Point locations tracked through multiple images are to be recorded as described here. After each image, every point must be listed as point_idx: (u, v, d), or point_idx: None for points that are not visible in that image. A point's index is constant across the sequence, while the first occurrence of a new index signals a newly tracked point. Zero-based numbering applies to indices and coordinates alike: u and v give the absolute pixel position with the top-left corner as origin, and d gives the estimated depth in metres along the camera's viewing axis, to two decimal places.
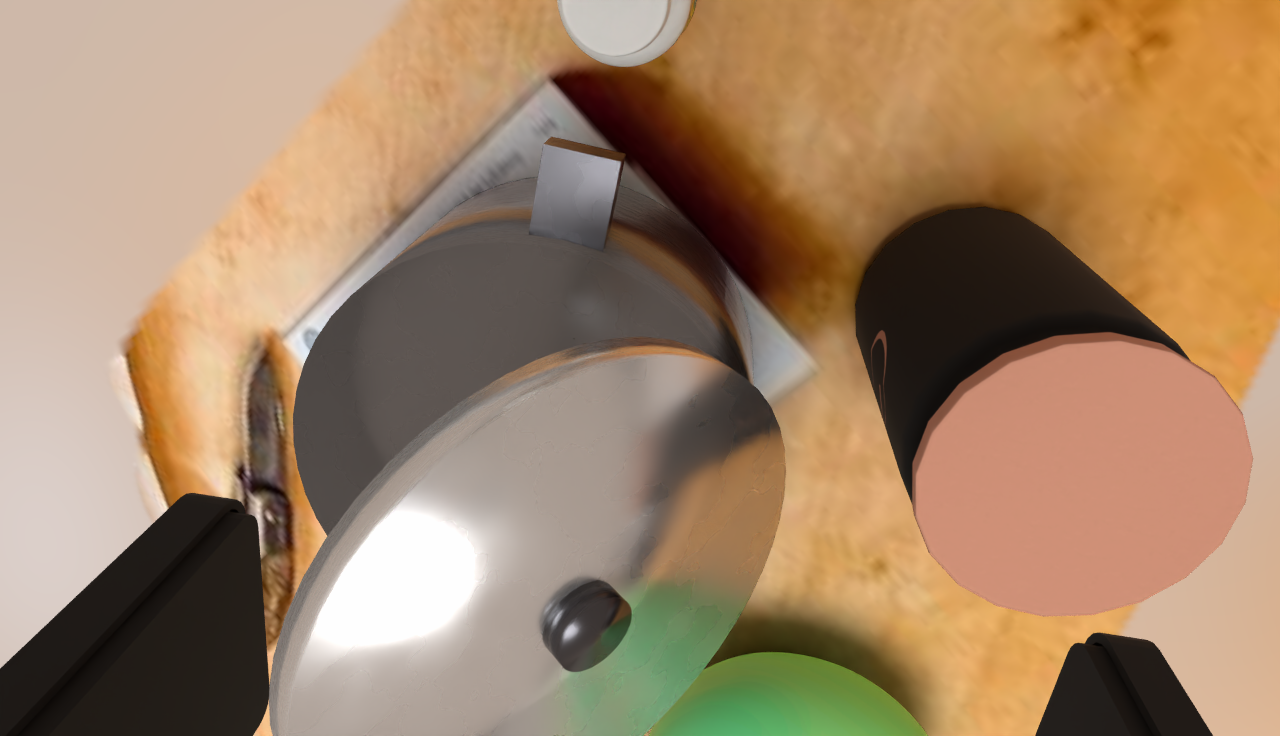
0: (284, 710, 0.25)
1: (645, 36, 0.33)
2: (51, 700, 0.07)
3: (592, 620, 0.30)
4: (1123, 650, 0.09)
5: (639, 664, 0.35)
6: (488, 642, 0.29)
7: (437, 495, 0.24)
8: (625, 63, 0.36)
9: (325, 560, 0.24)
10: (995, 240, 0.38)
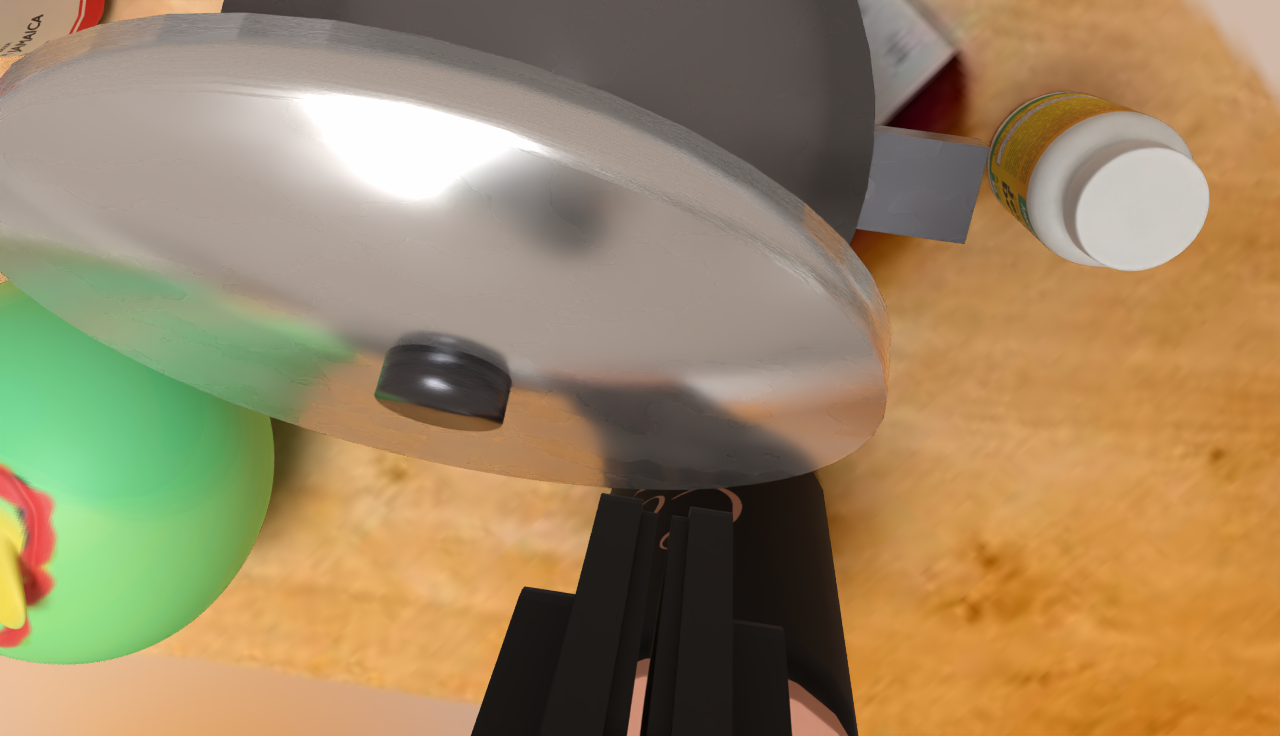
0: (336, 89, 0.12)
1: (1096, 249, 0.29)
2: (615, 676, 0.08)
3: (470, 410, 0.21)
4: (699, 518, 0.10)
5: (341, 398, 0.25)
6: (433, 306, 0.18)
7: (766, 296, 0.15)
8: (1038, 203, 0.31)
9: (657, 142, 0.13)
10: None
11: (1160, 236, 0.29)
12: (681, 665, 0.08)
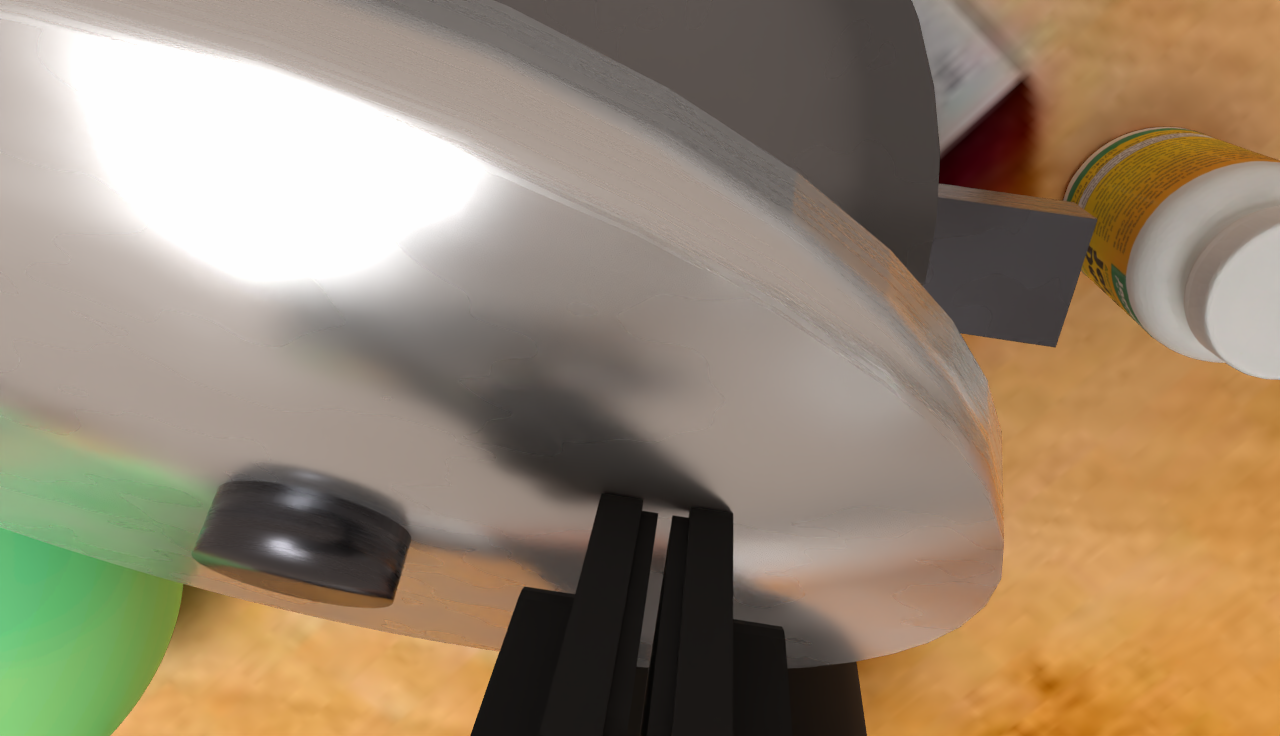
0: None
1: (1232, 351, 0.21)
2: (615, 676, 0.08)
3: (339, 583, 0.13)
4: (699, 518, 0.10)
5: (186, 545, 0.18)
6: (255, 426, 0.11)
7: (819, 420, 0.08)
8: (1144, 281, 0.23)
9: (610, 109, 0.07)
10: None
11: None
12: (681, 665, 0.08)
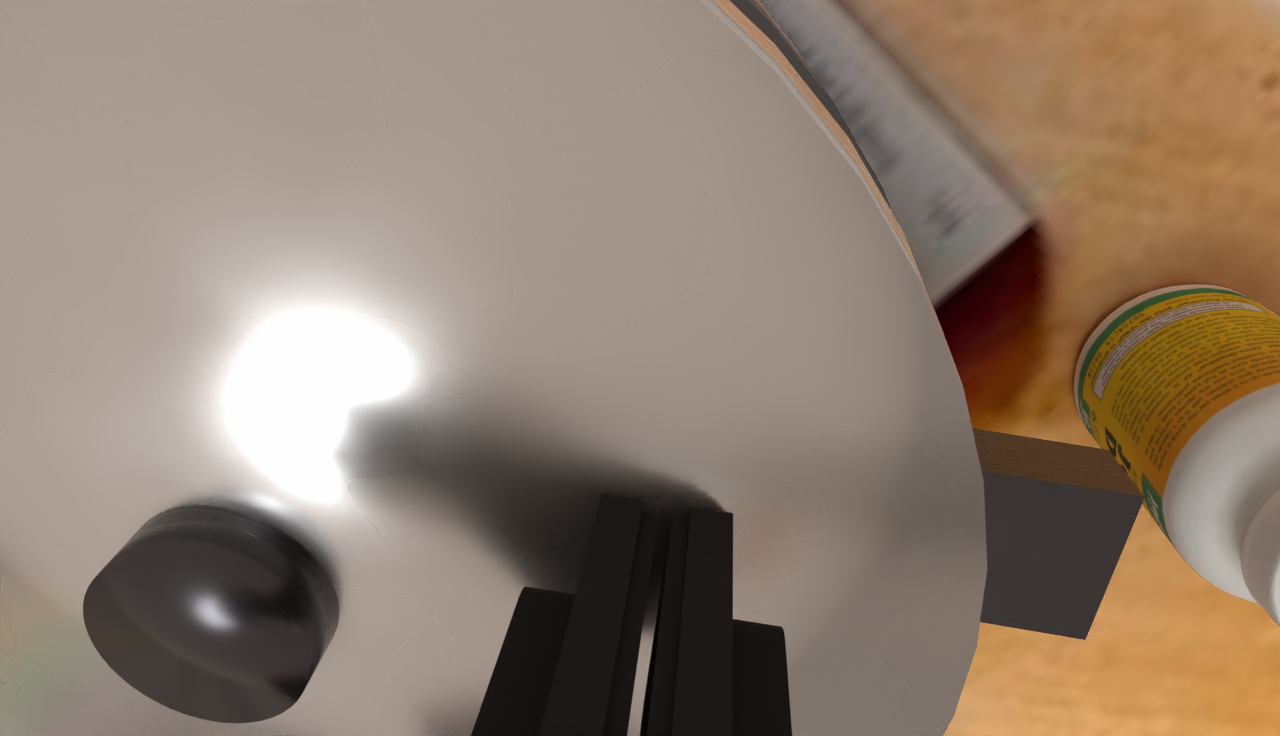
0: None
1: None
2: (615, 676, 0.08)
3: (253, 635, 0.12)
4: (699, 517, 0.10)
5: (32, 719, 0.15)
6: (231, 369, 0.11)
7: (805, 248, 0.09)
8: (1187, 514, 0.19)
9: None
10: None
11: None
12: (681, 665, 0.08)
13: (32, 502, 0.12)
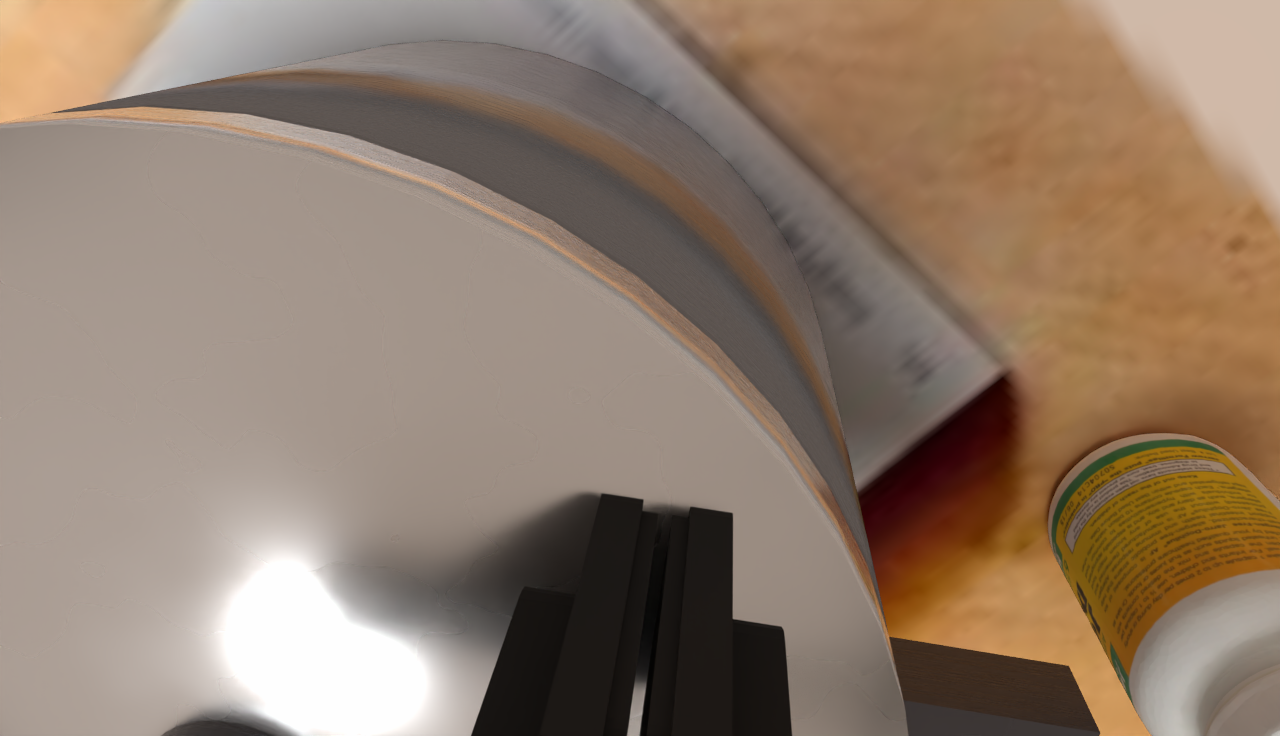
0: (227, 134, 0.10)
1: None
2: (615, 675, 0.08)
3: None
4: (699, 518, 0.10)
5: None
6: (250, 606, 0.12)
7: (742, 520, 0.11)
8: (1152, 699, 0.19)
9: (607, 271, 0.11)
10: None
11: None
12: (681, 665, 0.08)
13: (59, 716, 0.14)
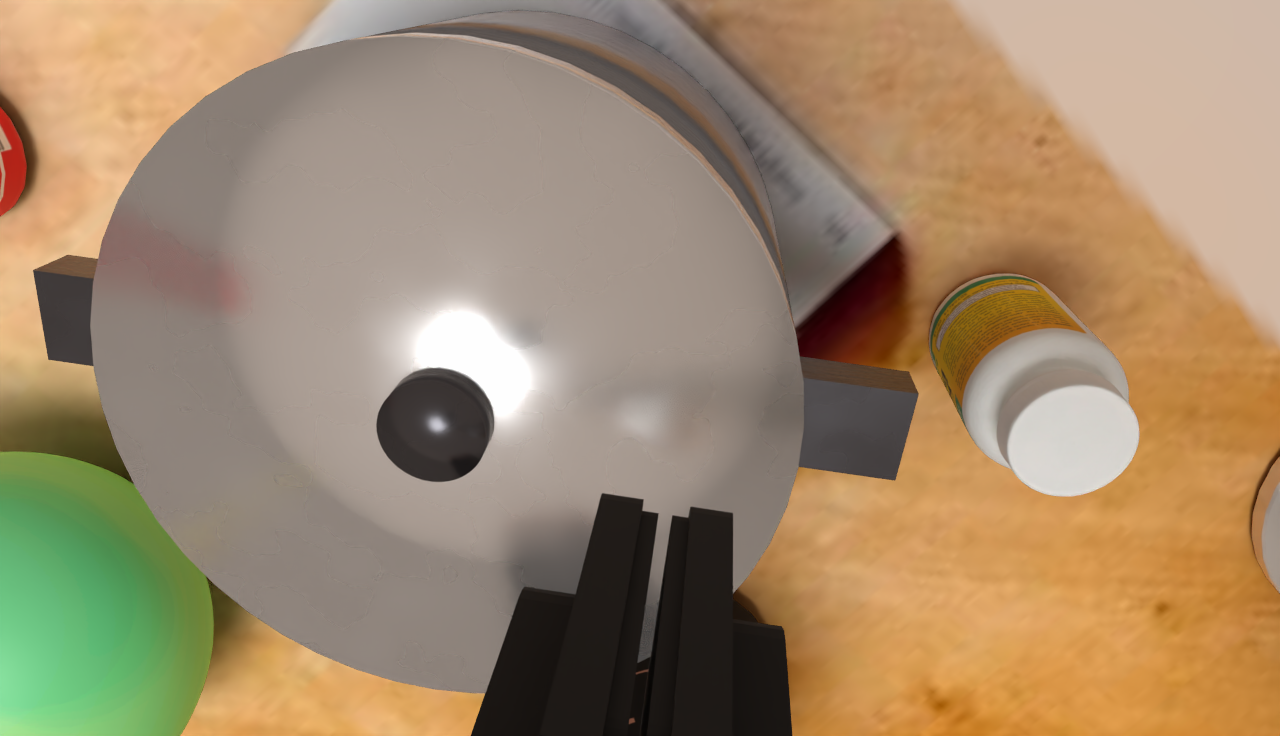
0: (469, 41, 0.21)
1: (1028, 477, 0.29)
2: (615, 676, 0.08)
3: (461, 426, 0.24)
4: (699, 517, 0.10)
5: (312, 510, 0.27)
6: (459, 295, 0.24)
7: (712, 231, 0.23)
8: (972, 415, 0.31)
9: (645, 110, 0.22)
10: None
11: (1091, 466, 0.29)
12: (681, 665, 0.08)
13: (345, 370, 0.25)
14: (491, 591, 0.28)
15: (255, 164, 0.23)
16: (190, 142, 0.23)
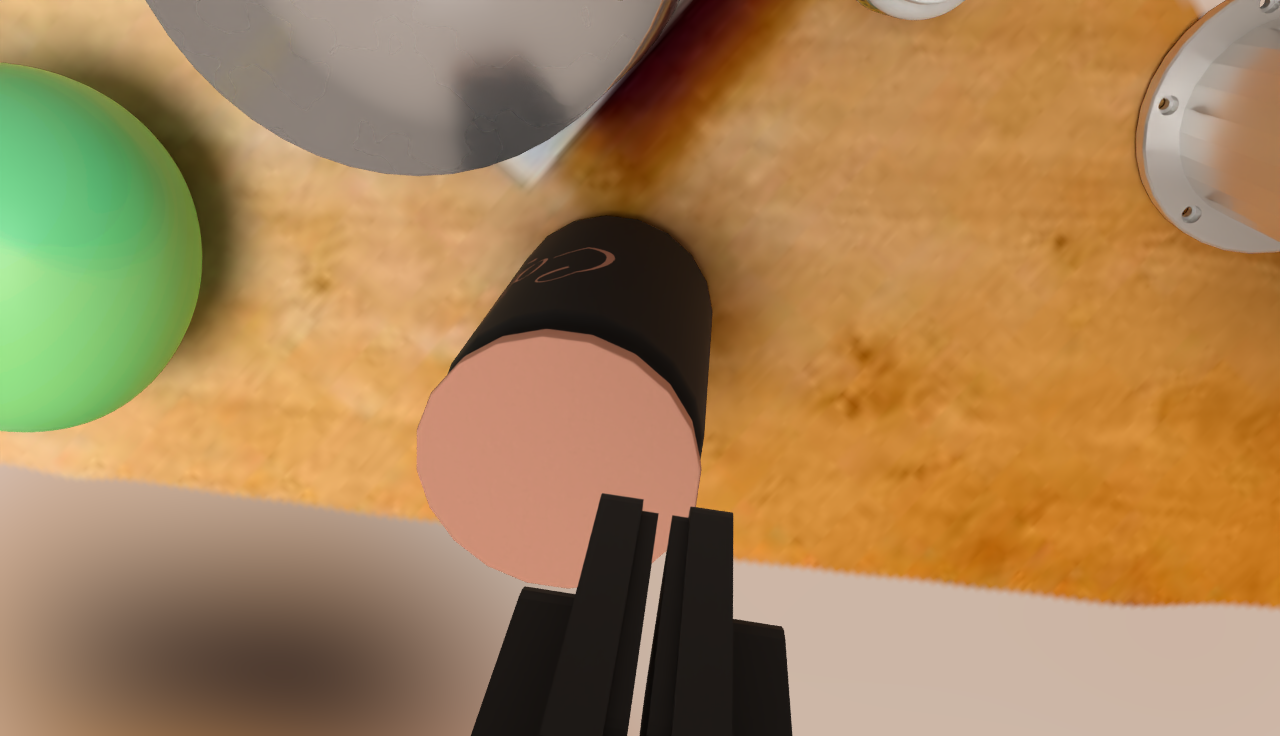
0: None
1: None
2: (615, 676, 0.08)
3: None
4: (699, 517, 0.10)
5: None
6: None
7: None
8: None
9: None
10: (706, 334, 0.43)
11: None
12: (681, 665, 0.08)
13: None
14: (430, 60, 0.32)
15: None
16: None
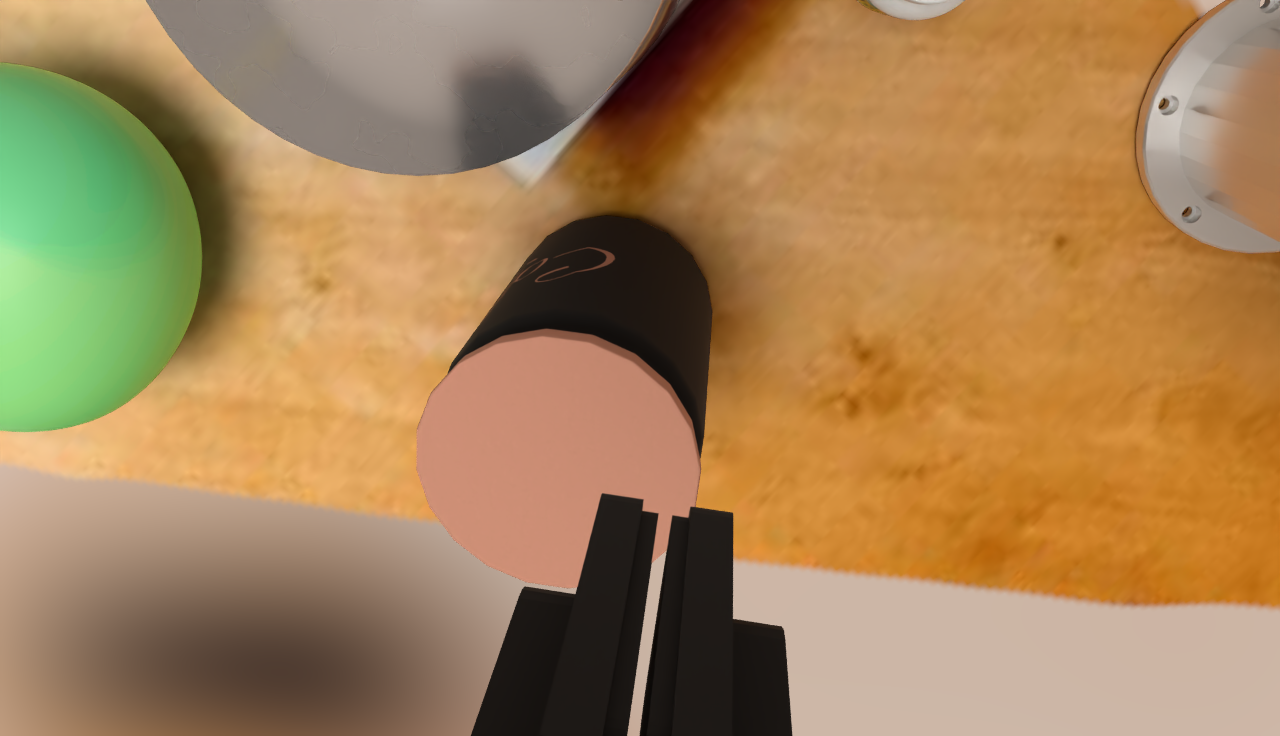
0: None
1: None
2: (615, 676, 0.08)
3: None
4: (699, 518, 0.10)
5: None
6: None
7: None
8: None
9: None
10: (706, 334, 0.43)
11: None
12: (681, 665, 0.08)
13: None
14: (430, 60, 0.32)
15: None
16: None
